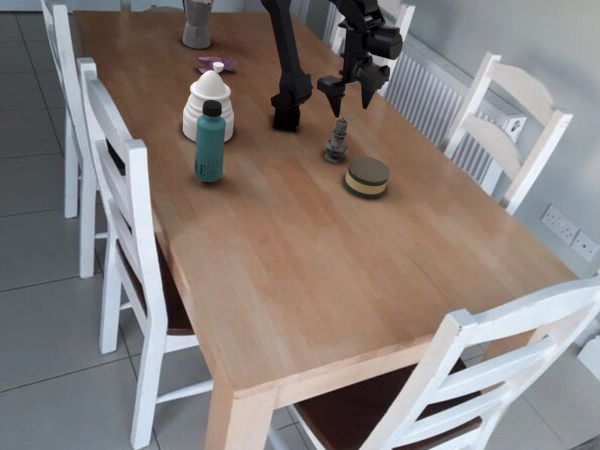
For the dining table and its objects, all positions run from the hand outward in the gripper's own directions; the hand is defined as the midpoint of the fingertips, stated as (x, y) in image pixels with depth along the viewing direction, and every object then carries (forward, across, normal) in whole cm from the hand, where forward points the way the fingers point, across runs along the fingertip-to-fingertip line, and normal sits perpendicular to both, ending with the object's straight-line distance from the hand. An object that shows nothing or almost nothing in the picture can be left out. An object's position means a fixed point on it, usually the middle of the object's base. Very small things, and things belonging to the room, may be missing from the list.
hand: (350, 113), depth 138 cm
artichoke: (+1, -14, +59) cm, 61 cm away
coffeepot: (+1, -3, +74) cm, 74 cm away
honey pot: (+8, -26, +26) cm, 37 cm away
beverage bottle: (+11, -37, +8) cm, 39 cm away
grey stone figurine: (+13, -2, +3) cm, 13 cm away
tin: (+15, -3, -10) cm, 18 cm away
